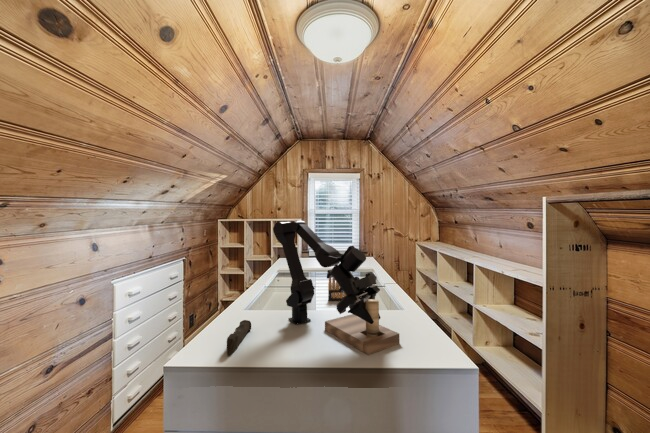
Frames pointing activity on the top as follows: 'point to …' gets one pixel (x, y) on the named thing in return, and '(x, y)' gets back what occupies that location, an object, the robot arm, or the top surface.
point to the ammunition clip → (334, 291)
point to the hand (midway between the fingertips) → (376, 321)
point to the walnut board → (361, 334)
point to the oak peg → (373, 310)
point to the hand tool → (237, 336)
